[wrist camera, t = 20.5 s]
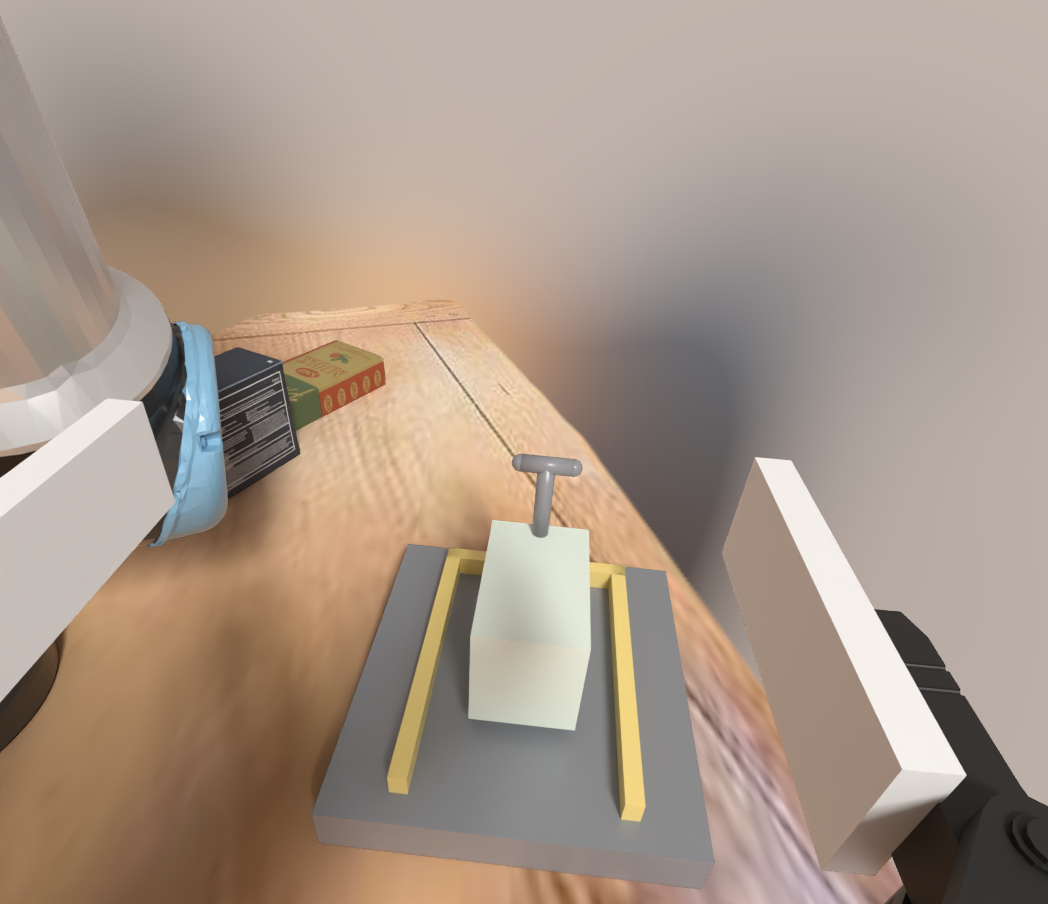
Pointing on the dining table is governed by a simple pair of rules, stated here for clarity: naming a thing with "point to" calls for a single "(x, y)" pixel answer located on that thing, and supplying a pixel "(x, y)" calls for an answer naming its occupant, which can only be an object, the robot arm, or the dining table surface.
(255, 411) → the small box
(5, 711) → the robot arm
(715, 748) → the dining table surface
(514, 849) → the dock
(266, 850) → the dining table surface
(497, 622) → the plunger detonator box
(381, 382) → the carton
